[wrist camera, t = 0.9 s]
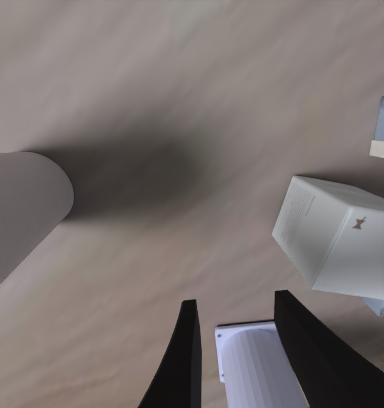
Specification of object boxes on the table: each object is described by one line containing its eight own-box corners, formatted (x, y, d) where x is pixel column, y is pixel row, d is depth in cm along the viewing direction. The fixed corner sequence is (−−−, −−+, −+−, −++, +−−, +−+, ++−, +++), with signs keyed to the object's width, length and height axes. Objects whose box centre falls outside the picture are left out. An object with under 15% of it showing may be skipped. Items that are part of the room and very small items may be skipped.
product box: (269, 234, 21) (308, 291, 14) (292, 172, 19) (352, 203, 12) (328, 244, 21) (395, 304, 14) (357, 186, 19) (452, 222, 12)
